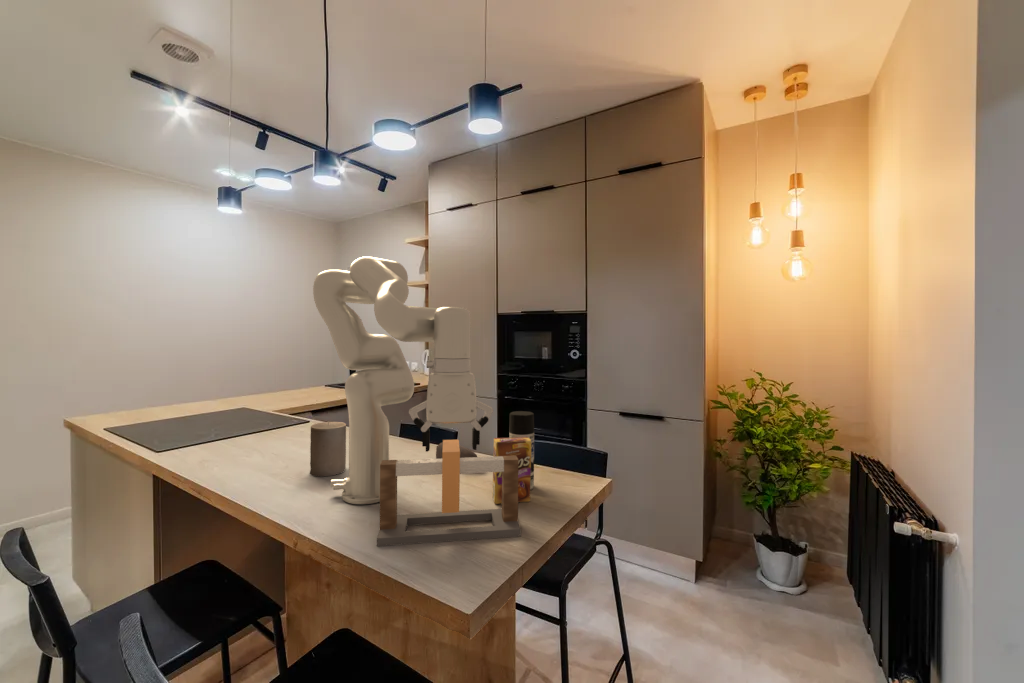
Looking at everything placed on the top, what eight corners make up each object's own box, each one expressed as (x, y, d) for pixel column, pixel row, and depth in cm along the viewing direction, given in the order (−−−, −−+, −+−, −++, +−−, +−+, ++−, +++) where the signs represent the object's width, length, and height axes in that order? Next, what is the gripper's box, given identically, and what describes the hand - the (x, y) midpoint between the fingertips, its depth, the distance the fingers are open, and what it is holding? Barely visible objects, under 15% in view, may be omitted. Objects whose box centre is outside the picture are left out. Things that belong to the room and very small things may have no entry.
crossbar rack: (376, 546, 78) (377, 470, 77) (384, 522, 87) (384, 455, 87) (520, 536, 82) (521, 464, 82) (512, 514, 92) (513, 450, 92)
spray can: (531, 493, 105) (532, 415, 104) (506, 490, 106) (507, 414, 106) (535, 484, 111) (536, 411, 111) (511, 482, 112) (512, 410, 112)
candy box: (495, 505, 97) (495, 441, 97) (491, 498, 101) (492, 437, 101) (530, 502, 99) (531, 440, 99) (526, 495, 103) (527, 435, 103)
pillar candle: (302, 474, 117) (302, 422, 116) (328, 464, 126) (328, 416, 126) (328, 478, 113) (328, 425, 113) (353, 468, 122) (353, 418, 122)
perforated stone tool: (483, 469, 123) (483, 447, 122) (473, 474, 118) (473, 451, 118) (445, 461, 130) (445, 439, 130) (434, 465, 126) (434, 443, 126)
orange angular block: (459, 512, 80) (459, 451, 80) (441, 513, 80) (442, 452, 80) (458, 493, 90) (458, 439, 89) (442, 494, 89) (443, 439, 89)
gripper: (407, 368, 79) (406, 455, 79) (495, 368, 82) (494, 452, 82) (410, 365, 87) (410, 445, 87) (491, 365, 89) (490, 443, 90)
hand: (451, 448), depth 85 cm, fingers open, 9 cm apart
